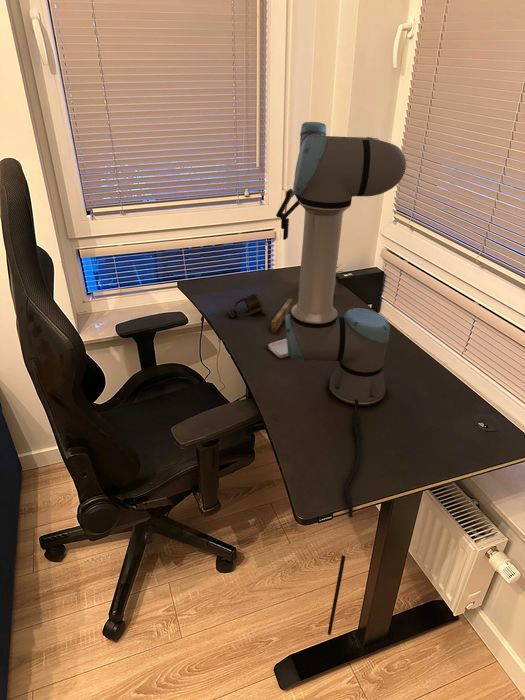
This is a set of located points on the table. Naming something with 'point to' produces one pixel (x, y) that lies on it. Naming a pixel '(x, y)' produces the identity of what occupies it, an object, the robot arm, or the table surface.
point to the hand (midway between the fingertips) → (304, 241)
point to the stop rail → (281, 316)
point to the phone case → (279, 348)
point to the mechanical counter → (248, 305)
